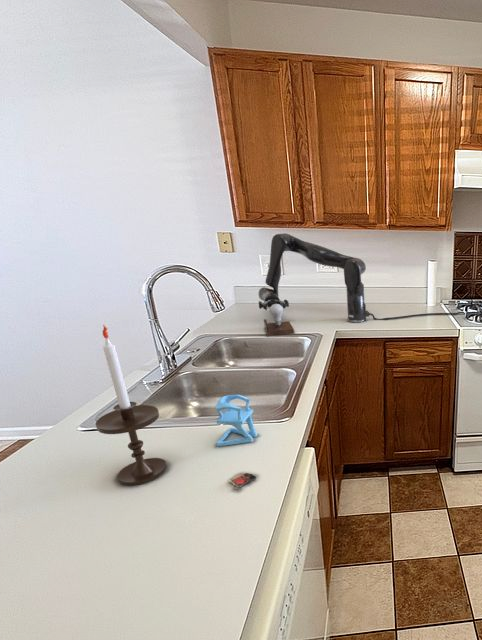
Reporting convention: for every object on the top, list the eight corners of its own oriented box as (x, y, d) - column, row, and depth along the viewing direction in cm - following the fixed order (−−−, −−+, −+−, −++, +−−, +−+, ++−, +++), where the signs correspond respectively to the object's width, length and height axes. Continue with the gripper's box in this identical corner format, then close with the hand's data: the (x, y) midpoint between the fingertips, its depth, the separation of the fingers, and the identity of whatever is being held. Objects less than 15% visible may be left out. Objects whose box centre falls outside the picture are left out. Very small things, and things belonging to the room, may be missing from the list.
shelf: (289, 325, 204) (288, 317, 203) (294, 333, 192) (293, 324, 190) (264, 328, 199) (263, 319, 198) (267, 336, 187) (266, 327, 185)
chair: (249, 447, 101) (242, 404, 96) (215, 446, 100) (207, 404, 96) (260, 431, 108) (255, 391, 104) (230, 430, 108) (223, 390, 103)
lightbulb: (278, 328, 191) (276, 305, 187) (269, 326, 193) (266, 304, 189) (287, 325, 196) (285, 303, 193) (277, 323, 199) (275, 302, 195)
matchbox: (258, 476, 89) (257, 474, 89) (240, 490, 85) (240, 488, 85) (241, 471, 91) (241, 470, 91) (223, 485, 86) (223, 483, 86)
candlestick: (176, 474, 90) (141, 325, 77) (117, 495, 83) (67, 335, 70) (165, 453, 97) (131, 314, 85) (110, 471, 90) (64, 322, 78)
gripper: (256, 294, 206) (258, 300, 193) (285, 292, 213) (289, 298, 199) (258, 308, 209) (260, 315, 196) (286, 306, 215) (290, 313, 202)
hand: (275, 307), depth 197 cm, fingers open, 8 cm apart
